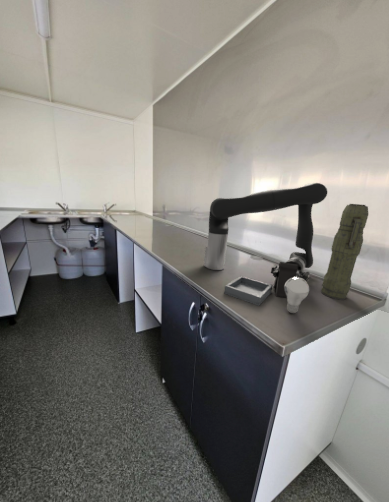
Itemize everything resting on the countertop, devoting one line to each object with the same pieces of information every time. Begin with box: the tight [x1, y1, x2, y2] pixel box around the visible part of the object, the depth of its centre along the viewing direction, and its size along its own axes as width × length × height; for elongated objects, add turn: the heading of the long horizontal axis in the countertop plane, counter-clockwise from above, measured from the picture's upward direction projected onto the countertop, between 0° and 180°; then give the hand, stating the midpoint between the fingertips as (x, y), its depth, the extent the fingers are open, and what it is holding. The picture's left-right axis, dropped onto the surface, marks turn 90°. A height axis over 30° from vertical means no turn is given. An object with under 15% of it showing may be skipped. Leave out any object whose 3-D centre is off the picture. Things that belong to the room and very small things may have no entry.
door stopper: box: [272, 261, 298, 299], centre depth 81 cm, size 9×6×12 cm, turn 167°
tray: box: [223, 275, 274, 306], centre depth 80 cm, size 13×14×3 cm
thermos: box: [320, 203, 369, 301], centre depth 80 cm, size 9×12×35 cm
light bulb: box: [284, 277, 310, 315], centre depth 66 cm, size 7×7×12 cm
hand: (284, 277), depth 79 cm, fingers open, 6 cm apart
